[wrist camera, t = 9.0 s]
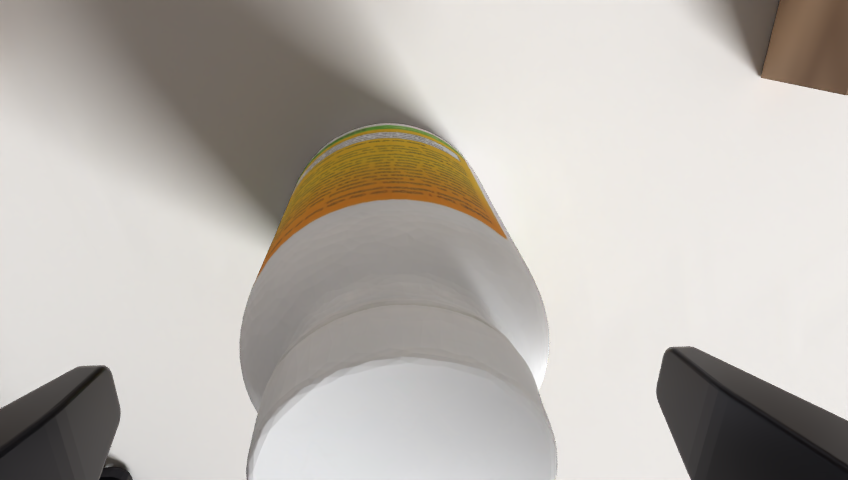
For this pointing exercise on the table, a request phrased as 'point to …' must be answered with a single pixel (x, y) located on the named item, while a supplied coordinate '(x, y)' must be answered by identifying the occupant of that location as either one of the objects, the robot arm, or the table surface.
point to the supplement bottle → (395, 324)
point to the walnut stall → (810, 45)
